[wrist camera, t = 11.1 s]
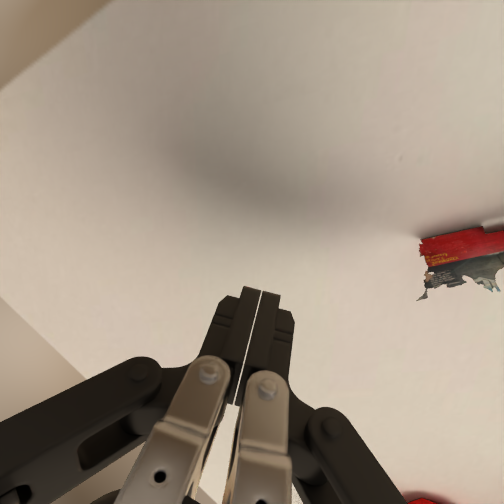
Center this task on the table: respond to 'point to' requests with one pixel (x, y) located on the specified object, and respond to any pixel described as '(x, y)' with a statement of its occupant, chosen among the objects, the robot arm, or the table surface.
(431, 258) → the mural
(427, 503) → the apple
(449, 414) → the table surface
